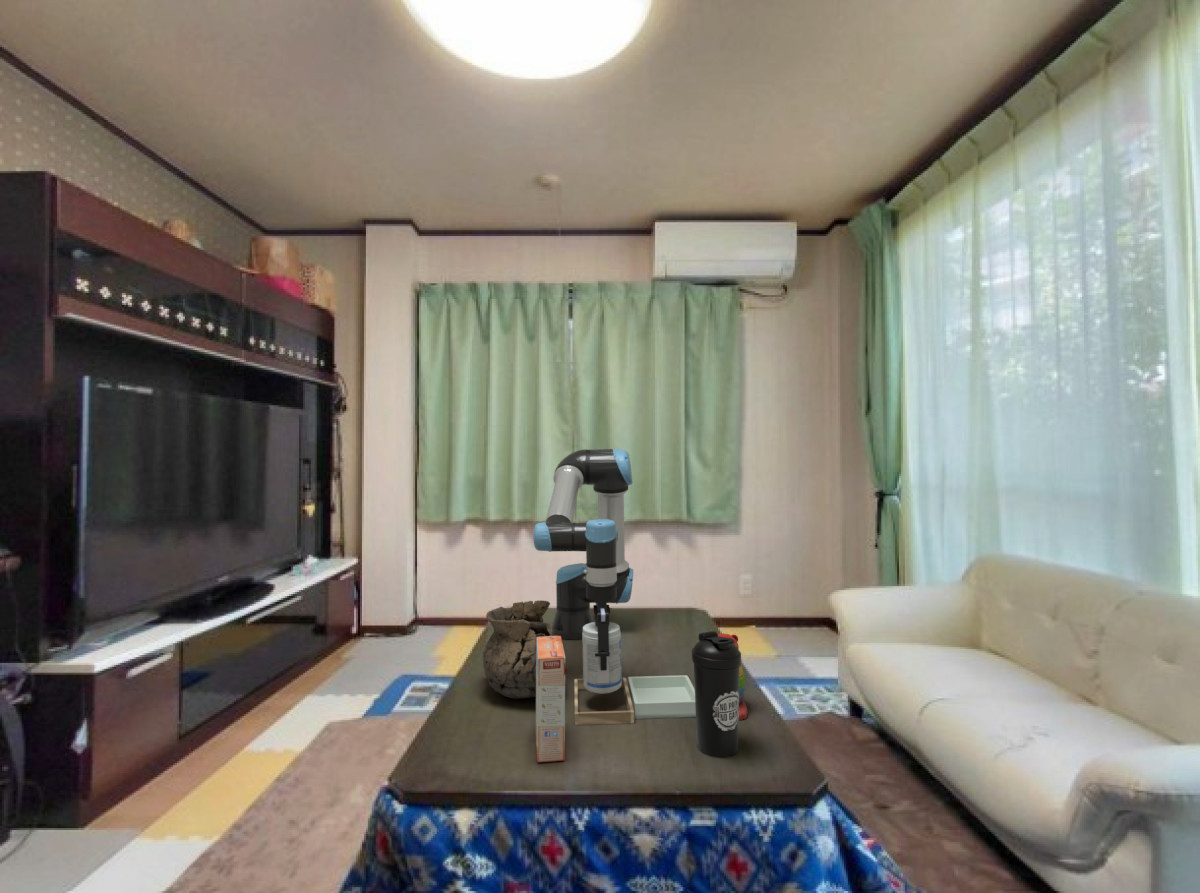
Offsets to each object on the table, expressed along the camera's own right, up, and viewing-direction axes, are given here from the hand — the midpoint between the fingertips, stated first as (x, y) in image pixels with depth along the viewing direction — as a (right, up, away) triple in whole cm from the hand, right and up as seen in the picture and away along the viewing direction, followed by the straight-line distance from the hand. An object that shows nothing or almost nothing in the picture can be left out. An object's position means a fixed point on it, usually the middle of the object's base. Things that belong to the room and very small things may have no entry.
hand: (602, 673), depth 135 cm
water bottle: (+24, -7, -20) cm, 32 cm away
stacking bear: (+30, -7, -3) cm, 31 cm away
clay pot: (-20, -8, +7) cm, 23 cm away
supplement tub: (0, -3, 0) cm, 3 cm away
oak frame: (0, -7, -1) cm, 7 cm away
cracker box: (-11, -7, -19) cm, 23 cm away
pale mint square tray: (+15, -7, 0) cm, 17 cm away
